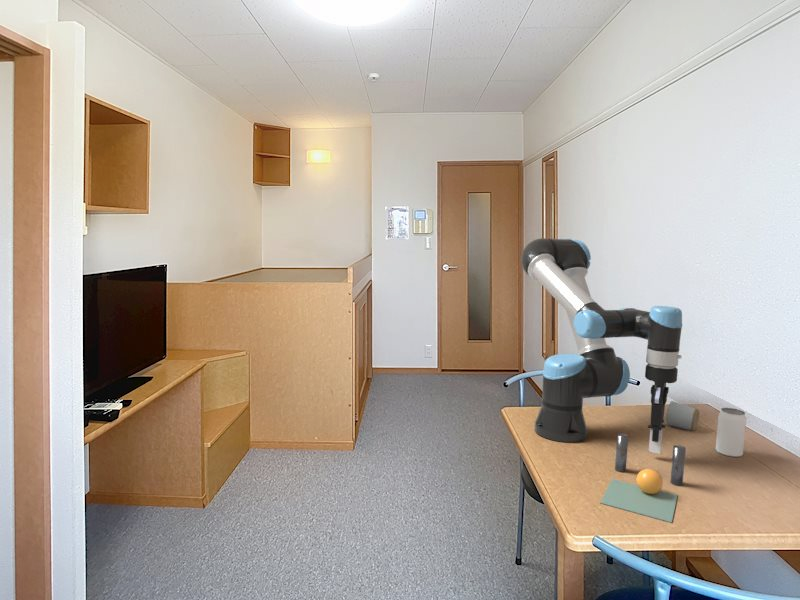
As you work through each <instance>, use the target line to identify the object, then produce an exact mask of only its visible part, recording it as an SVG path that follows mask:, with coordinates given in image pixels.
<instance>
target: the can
mask: <svg viewBox="0 0 800 600" xmlns="http://www.w3.org/2000/svg"><path fill="white" fill-rule="evenodd" d="M720 410H721V411H720V412H719V413H718V419H717V429H716V439H715V451H716V452H717V453H718V454H721V455H723V456H726V457H731V458H741V457H742V456H743V454H744V447H745V439H746V426H747V417H746V412H745V411H744V410H741V409H737V408H734V407H733V408H732V407H722V408H721V409H720Z"/></svg>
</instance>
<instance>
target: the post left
mask: <svg viewBox="0 0 800 600" xmlns="http://www.w3.org/2000/svg"><path fill="white" fill-rule="evenodd" d="M629 438H630V437H629V435H627V434H624V433H617V436H616V449H615V460H614V461H615V462H614V470H615V471H616V472H619V473H626V471H627V461H628V450H629V449H628V448H629Z"/></svg>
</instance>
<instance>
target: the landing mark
mask: <svg viewBox="0 0 800 600" xmlns="http://www.w3.org/2000/svg"><path fill="white" fill-rule="evenodd" d="M677 498H678V494H675V493H672V492H668V491H663V490H660V491H659V492H658V493H656V494H647V493H645V492H643V491H642V490H641V489H640V488H639V487H638V485H637V483H636V484H635V483H632V482H631V483H630V482H627V481H624V480H623V481H622V480H619V479H616V478H615V479H614V478H611V481H610V483H609V484H608V485H607V489H606V490H605V492H604V494H603V496H602V498H601V499H600V504H602V505H606V506H609V507H612V508H615V509H619V510H623V511H627V512H631V513H634V514H638V515H641V516H644V517H648V518H653V519H656V520H660V521H662V522H666V523H671V524H672V522H673V519H674V513H675V507H676V504H677Z"/></svg>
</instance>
